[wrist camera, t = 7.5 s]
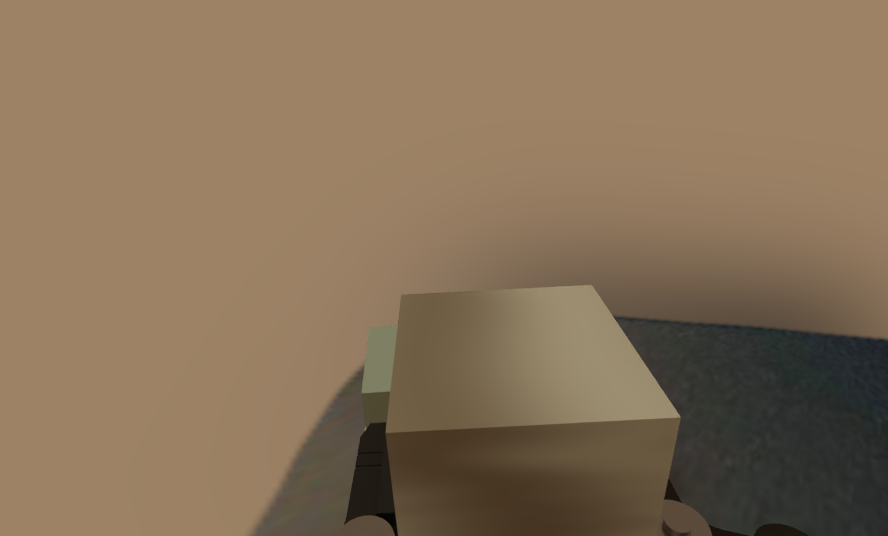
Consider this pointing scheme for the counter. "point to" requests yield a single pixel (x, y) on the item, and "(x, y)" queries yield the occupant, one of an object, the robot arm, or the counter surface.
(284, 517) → the counter surface
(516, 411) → the birch pillar
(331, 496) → the counter surface
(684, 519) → the robot arm
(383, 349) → the sage block
